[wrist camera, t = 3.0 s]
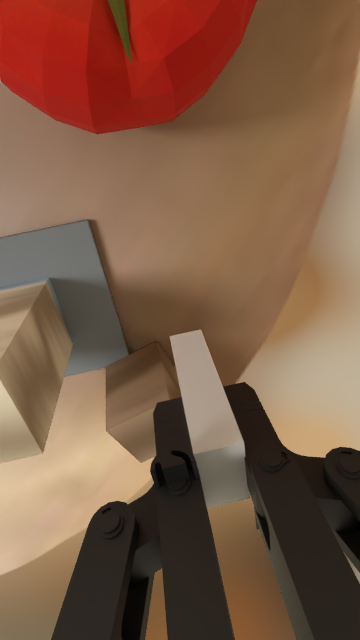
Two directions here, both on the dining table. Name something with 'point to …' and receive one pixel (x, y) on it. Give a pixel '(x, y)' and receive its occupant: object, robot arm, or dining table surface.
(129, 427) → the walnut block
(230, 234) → the dining table surface
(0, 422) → the birch block
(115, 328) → the rubber mat
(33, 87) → the tomato
